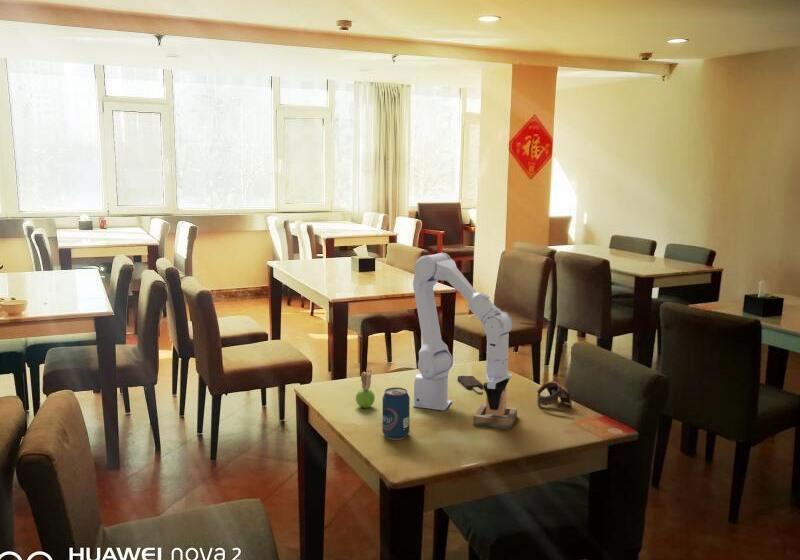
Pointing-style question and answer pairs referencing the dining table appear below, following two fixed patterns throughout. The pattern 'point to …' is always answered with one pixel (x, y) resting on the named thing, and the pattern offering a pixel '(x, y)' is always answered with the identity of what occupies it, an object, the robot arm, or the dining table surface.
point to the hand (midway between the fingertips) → (495, 406)
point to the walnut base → (495, 418)
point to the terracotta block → (502, 405)
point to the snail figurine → (365, 391)
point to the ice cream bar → (470, 383)
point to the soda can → (395, 413)
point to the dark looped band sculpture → (553, 394)
